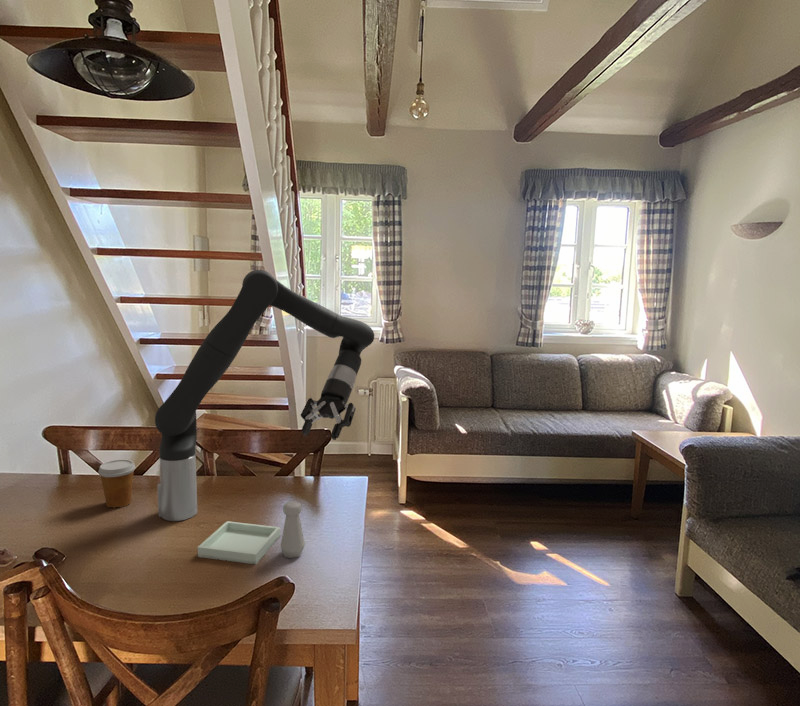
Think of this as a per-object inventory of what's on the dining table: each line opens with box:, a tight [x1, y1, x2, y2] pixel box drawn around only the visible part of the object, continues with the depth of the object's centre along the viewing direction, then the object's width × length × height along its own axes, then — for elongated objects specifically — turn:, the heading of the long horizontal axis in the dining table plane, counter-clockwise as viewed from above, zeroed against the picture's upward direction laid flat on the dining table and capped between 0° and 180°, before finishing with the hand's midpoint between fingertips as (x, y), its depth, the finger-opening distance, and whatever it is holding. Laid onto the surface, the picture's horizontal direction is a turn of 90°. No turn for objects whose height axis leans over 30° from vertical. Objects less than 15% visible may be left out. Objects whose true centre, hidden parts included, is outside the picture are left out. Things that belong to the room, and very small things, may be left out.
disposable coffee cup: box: [97, 459, 136, 509], centre depth 154 cm, size 10×10×12 cm
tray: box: [197, 520, 281, 565], centre depth 133 cm, size 15×14×2 cm
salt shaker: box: [280, 500, 306, 559], centre depth 129 cm, size 6×6×13 cm
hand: (318, 436), depth 138 cm, fingers open, 8 cm apart
